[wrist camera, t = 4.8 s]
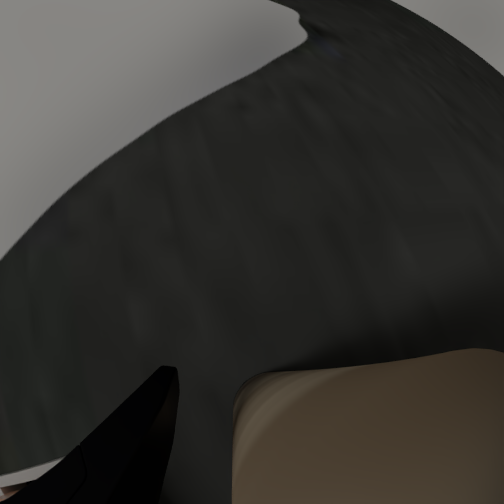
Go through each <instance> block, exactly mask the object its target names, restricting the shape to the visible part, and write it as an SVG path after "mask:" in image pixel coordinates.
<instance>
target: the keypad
mask: <svg viewBox="0 0 504 504" xmlns="http://www.w3.org/2000/svg"><path fill="white" fill-rule="evenodd" d="M64 457H65V456H64ZM64 457H61V458H58V459H55V460H52V461H49V462H46V463H42V464H39V465H36V466H32V467H29V468H25V469H22V470H18V471H14V472H11V473H7V474H3V475H0V496H2V495H4V494H7V493H10V492H12V491H17V490H21V489H22V488H24V487H25V486H27V484H26V482H28V481H32V480H36V479H37V478H39V477H40V476H42V475H43V474H44V473H46V472H47V471H48V470H50V469H51V468H52V467H54V466H55V465H56V464H57V463H58V462H60V461H61V460H62V459H63V458H64Z"/></svg>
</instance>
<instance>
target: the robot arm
mask: <svg viewBox="0 0 504 504" xmlns="http://www.w3.org/2000/svg"><path fill="white" fill-rule="evenodd" d="M178 401H179V380H178V371H177V368H176V367H171V366H161V367H159V368H158V369H157V370H156V371H155V372H154V373H153V374H152V375H151V376H150V377H149V378H148V379H147V380H146V381H145V382H144V383H143V384H142V385H141V386H140V387H139V388H138V389H137V390H136V391H134V392H133V393H132V394H131V395H130V396H129V397H128V398H127V399H126V400H125V401H124V402H123V403H122V404H121V405H120V406H119V407H118V408H117V409H116V410H115V411H114V412H113V413H112V414H110V415H109V416H108V417H107V418H106V419H105V420H104V421H103V422H102V423H101V424H100V425H99V426H98V427H97V428H96V429H95V430H94V431H93V432H91V433H90V434H89V435H88V436H87V437H86V438H85V439H84V440H83V441H82V442H81V443H80V445H77V446H76V447H75V448H74V449H73V450H72V451H71V452H70V453H69V454H68V455H67V456H65V457H64V458H63V459H62V460H61V461H60V462H58V463H57V464H56V465H55V466H54V467H52V468H51V469H50V470H48V471H47V472H46V473H44V474H43V475H42V476H40V477H39V478H37V479H36V480H34V481H33V482H31V483H30V484H28V485H27V486H25V487H24V488H22V489H21V490H19V491H18V492H16V493H15V494H13V495H12V496H10V497H9V498H7V499H5V500H3V501H1V502H0V504H158V501H159V497H160V493H161V489H162V485H163V481H164V477H165V473H166V469H167V465H168V461H169V457H170V453H171V449H172V445H173V439H174V433H175V424H176V416H177V408H178Z"/></svg>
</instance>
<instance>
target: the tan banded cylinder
mask: <svg viewBox="0 0 504 504" xmlns="http://www.w3.org/2000/svg"><path fill="white" fill-rule="evenodd" d="M232 504H504V353H502V352H499V351H495V350H491V349H478V348H471V349H463V350H455V351H450V352H445V353H440V354H435V355H430V356H424V357H418V358H412V359H406V360H400V361H393V362H386V363H378V364H370V365H362V366H353V367H343V368H332V369H319V370H304V371H284V372H265V373H260V374H257V375H255V376H253V377H251V378H249V379H248V380H247V381H246V382H244V383H243V384H242V386H241V387H240V388H239V390H238V391H237V393H236V396H235V399H234V403H233V451H232Z"/></svg>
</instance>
